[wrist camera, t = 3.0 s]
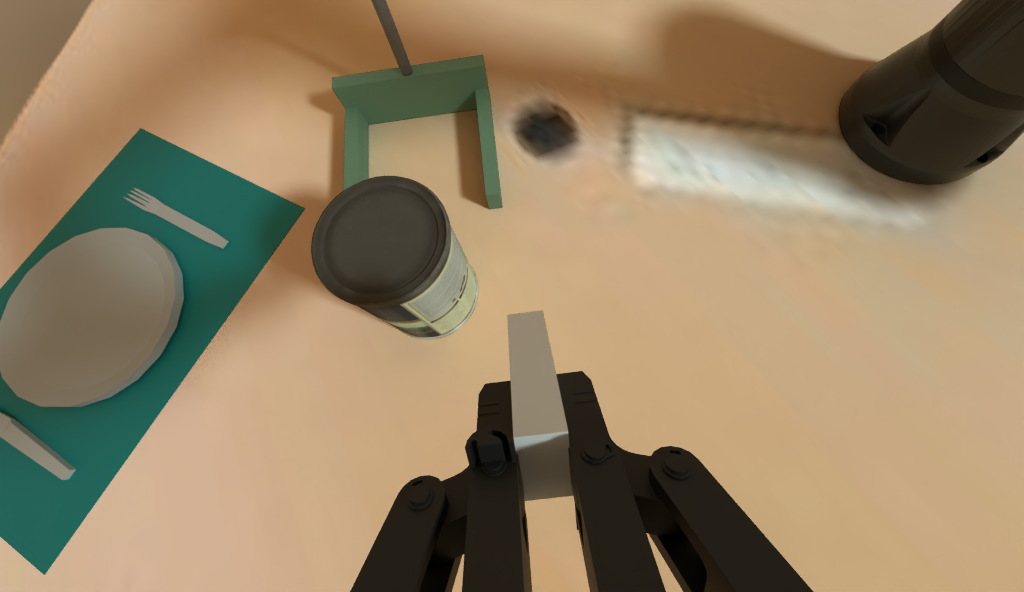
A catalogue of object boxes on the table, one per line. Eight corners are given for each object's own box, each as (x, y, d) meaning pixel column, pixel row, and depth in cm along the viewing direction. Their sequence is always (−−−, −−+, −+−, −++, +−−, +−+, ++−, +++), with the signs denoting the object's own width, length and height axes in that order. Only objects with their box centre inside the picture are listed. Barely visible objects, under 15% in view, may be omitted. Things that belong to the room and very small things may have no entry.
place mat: (146, 122, 52) (128, 109, 50) (323, 207, 46) (312, 197, 44) (-126, 434, 43) (-162, 435, 41) (54, 592, 37) (23, 603, 35)
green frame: (502, 207, 44) (458, -16, 21) (355, 227, 44) (156, 32, 21) (490, 97, 48) (442, -188, 25) (356, 116, 49) (192, -143, 26)
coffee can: (396, 353, 40) (322, 325, 26) (376, 265, 43) (300, 199, 29) (491, 322, 40) (465, 278, 27) (465, 236, 43) (429, 157, 30)
